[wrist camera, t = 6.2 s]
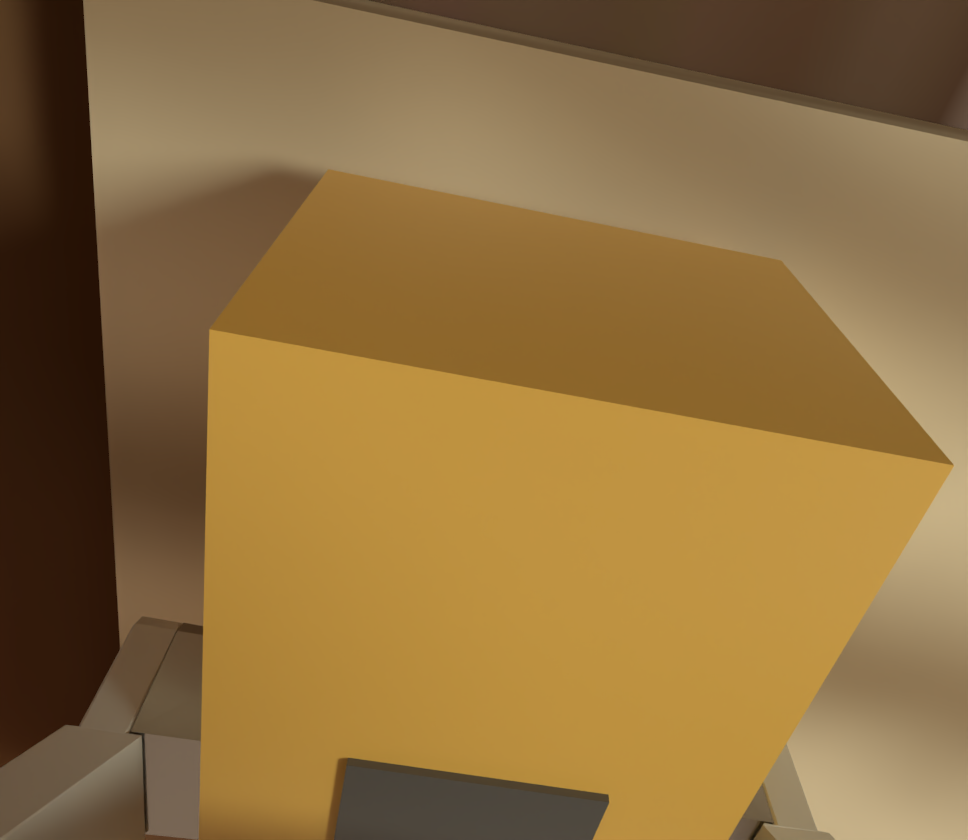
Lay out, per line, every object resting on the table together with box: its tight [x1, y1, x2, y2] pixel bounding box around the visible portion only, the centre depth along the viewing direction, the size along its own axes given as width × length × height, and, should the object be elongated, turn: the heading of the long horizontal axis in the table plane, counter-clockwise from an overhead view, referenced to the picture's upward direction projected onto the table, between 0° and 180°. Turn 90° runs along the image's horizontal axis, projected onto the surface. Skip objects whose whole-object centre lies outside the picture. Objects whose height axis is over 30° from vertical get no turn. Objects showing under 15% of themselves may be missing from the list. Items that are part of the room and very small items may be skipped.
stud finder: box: [199, 169, 954, 840], centre depth 10 cm, size 12×5×4 cm, turn 169°
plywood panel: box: [83, 0, 968, 840], centre depth 14 cm, size 15×26×1 cm, turn 79°
